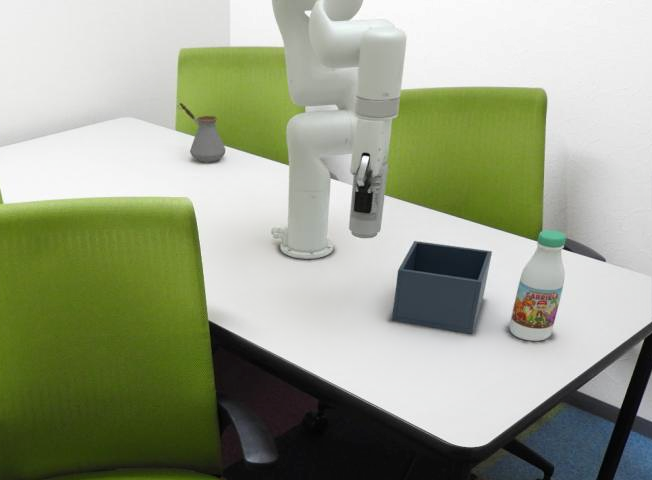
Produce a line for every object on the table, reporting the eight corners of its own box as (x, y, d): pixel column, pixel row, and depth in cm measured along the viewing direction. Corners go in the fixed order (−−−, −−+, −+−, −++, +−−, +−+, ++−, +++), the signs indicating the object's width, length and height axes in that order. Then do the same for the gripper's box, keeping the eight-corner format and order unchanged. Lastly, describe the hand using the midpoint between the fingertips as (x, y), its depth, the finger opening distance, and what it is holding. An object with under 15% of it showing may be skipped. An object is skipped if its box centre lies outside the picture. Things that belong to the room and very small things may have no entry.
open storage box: (391, 320, 152) (397, 269, 146) (407, 288, 164) (414, 240, 157) (471, 334, 146) (481, 282, 140) (482, 300, 158) (492, 251, 152)
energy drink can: (384, 231, 147) (394, 153, 138) (372, 241, 142) (381, 162, 134) (356, 225, 149) (363, 148, 140) (343, 235, 145) (349, 157, 136)
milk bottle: (502, 324, 150) (523, 227, 138) (540, 321, 150) (563, 225, 139) (518, 343, 143) (541, 243, 132) (557, 340, 144) (584, 241, 132)
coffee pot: (232, 160, 244) (232, 111, 235) (203, 167, 238) (201, 117, 230) (195, 146, 258) (194, 99, 250) (167, 152, 253) (164, 105, 244)
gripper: (368, 93, 140) (359, 188, 150) (342, 117, 127) (334, 219, 137) (408, 96, 137) (396, 193, 148) (386, 121, 125) (375, 225, 135)
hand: (367, 205), depth 143 cm, fingers closed on energy drink can, 6 cm apart
